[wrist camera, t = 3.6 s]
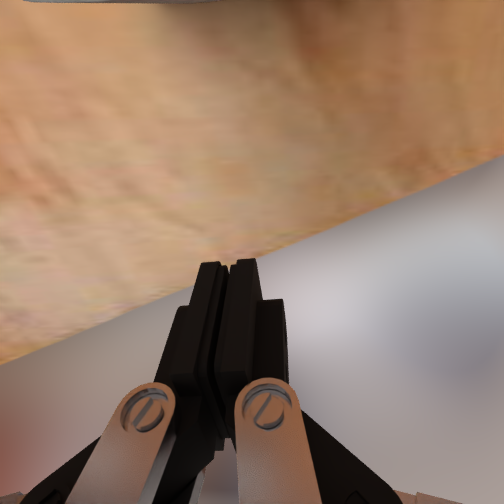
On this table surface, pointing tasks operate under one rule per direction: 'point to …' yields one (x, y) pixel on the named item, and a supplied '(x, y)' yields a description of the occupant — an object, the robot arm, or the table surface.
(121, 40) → the table surface
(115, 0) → the hip flask
